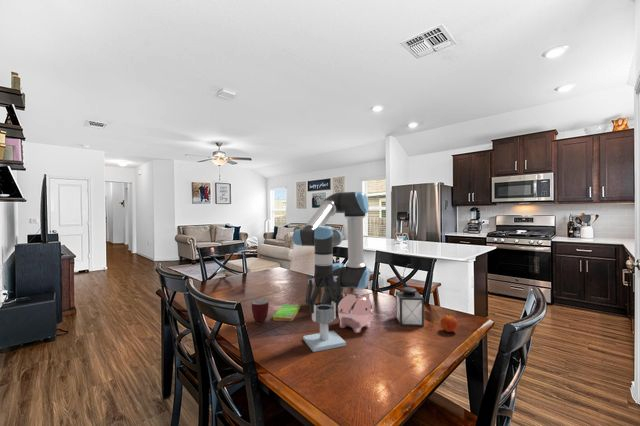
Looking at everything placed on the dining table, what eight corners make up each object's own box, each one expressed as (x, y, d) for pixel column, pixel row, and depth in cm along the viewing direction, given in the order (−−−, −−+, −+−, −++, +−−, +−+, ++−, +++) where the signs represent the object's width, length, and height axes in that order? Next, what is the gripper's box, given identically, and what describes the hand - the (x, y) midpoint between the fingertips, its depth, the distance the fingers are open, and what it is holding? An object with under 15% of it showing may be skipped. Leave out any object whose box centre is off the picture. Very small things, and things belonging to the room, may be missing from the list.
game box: (272, 322, 146) (284, 307, 166) (291, 323, 144) (300, 308, 165) (272, 316, 146) (284, 301, 166) (291, 317, 144) (300, 302, 164)
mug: (266, 327, 137) (265, 306, 137) (248, 327, 137) (248, 306, 137) (269, 319, 147) (269, 299, 147) (253, 319, 147) (253, 299, 147)
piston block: (333, 334, 129) (333, 310, 129) (345, 345, 118) (345, 320, 118) (303, 339, 124) (303, 315, 124) (313, 352, 113) (313, 325, 113)
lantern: (418, 318, 148) (417, 262, 148) (424, 326, 137) (423, 266, 137) (395, 317, 149) (395, 262, 149) (399, 326, 138) (399, 266, 138)
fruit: (456, 329, 133) (456, 311, 133) (458, 335, 127) (458, 317, 127) (440, 327, 136) (440, 310, 136) (441, 333, 129) (441, 315, 129)
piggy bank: (363, 338, 125) (363, 300, 125) (331, 327, 137) (330, 293, 137) (381, 327, 136) (381, 293, 136) (350, 318, 148) (350, 286, 148)
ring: (328, 315, 126) (328, 303, 126) (336, 321, 119) (336, 309, 119) (311, 317, 123) (311, 305, 123) (318, 324, 116) (318, 312, 116)
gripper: (342, 260, 128) (342, 312, 128) (296, 264, 120) (296, 319, 120) (350, 263, 121) (350, 318, 121) (302, 267, 113) (302, 326, 113)
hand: (323, 319), depth 121 cm, fingers closed on ring, 8 cm apart
